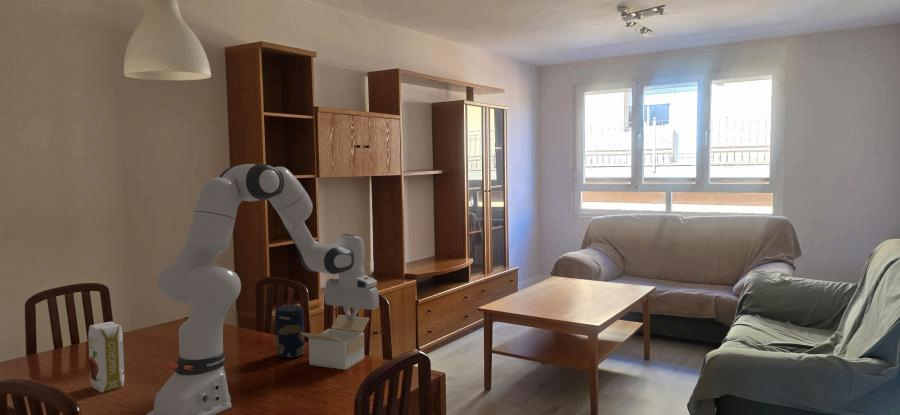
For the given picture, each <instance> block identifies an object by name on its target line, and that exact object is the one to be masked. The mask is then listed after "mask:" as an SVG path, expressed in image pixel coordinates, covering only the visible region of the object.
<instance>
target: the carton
mask: <svg viewBox="0 0 900 415" xmlns="http://www.w3.org/2000/svg"><path fill="white" fill-rule="evenodd" d="M318 334H319V335H328V336H334V337H336V338H338V339H340V340H342V341H343V342H342V343H341V342H333V341H325V340H317V339H310V338H308V363H309V364H308V366H315V367H323V368H330V369H334V368H336V369H335V370H341V369H342V370H341V371H347V370H349V369H350V368H351V366H352V367H353V366H355V365H356V364H358V363H359V362H361V361H363V360H365V332H359V331H350V330H341V329H332V328H327V329H326V330H325V329H324V331H320V332H319V333H318Z"/></svg>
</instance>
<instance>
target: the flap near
mask: <svg viewBox="0 0 900 415" xmlns="http://www.w3.org/2000/svg"><path fill="white" fill-rule="evenodd" d="M300 334H302V335H304V337H306V338H308V339H309V338H310V339H317V340H325V341H333V342H341V343H342V342H343V341H342V340H340V339H338V338H336V337H334V336H328V335H319V333H312V332H310V333H309V332H304V333H303V332H301V333H300Z"/></svg>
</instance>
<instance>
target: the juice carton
mask: <svg viewBox="0 0 900 415" xmlns="http://www.w3.org/2000/svg"><path fill="white" fill-rule="evenodd" d="M88 328H89V329H88V338H87V339H88V358H89V375H90V377H89V378H90V382H91V386H92V388H93V389H95V390H97V391H98V392H99V393H106V392H109V391H113V390H117V389H119V388H120V389H121V388H123V387H124V385H125V362H124V361H125V358H124V341H123V340H124V336H123V330H122V325H121V324H118V323H115V322H113V321H107V322H101V323H96V324H91V325H89V327H88Z"/></svg>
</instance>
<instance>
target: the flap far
mask: <svg viewBox="0 0 900 415" xmlns="http://www.w3.org/2000/svg"><path fill="white" fill-rule="evenodd" d="M369 321H370V317H367V316H366V317H365V316H357V315H356V320H347V319H346V314H338V315H337V317H336V318H335V320H334V321H333V324H332V326H331V328H330V329H335V330H344V331H353V332H361V333H364V331H365V329H366V326H367V324H368V323H369Z"/></svg>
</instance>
